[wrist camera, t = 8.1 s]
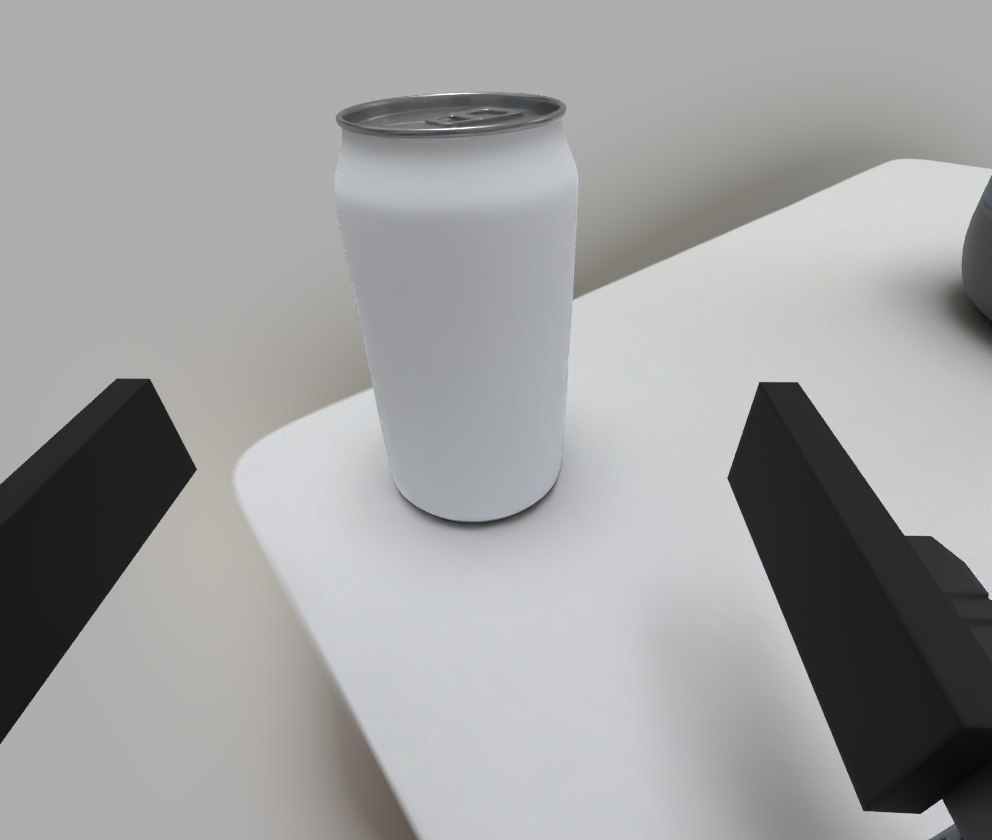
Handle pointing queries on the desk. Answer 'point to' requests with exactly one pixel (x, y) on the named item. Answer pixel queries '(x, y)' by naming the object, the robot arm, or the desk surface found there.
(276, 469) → the desk surface
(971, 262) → the vase
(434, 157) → the can
